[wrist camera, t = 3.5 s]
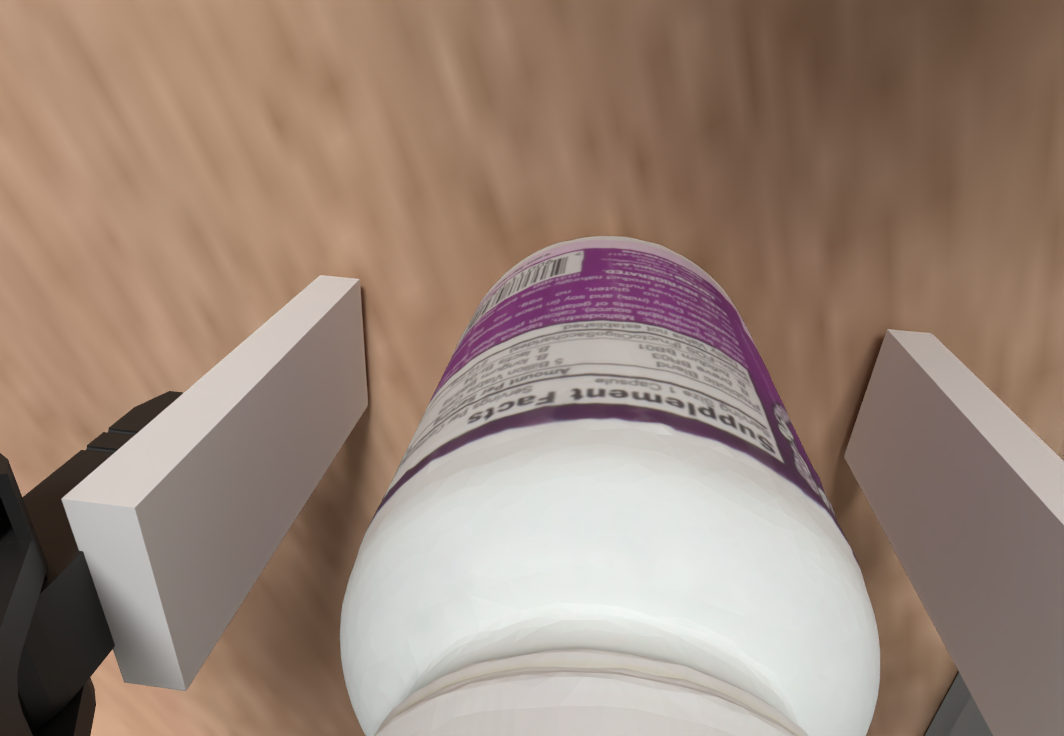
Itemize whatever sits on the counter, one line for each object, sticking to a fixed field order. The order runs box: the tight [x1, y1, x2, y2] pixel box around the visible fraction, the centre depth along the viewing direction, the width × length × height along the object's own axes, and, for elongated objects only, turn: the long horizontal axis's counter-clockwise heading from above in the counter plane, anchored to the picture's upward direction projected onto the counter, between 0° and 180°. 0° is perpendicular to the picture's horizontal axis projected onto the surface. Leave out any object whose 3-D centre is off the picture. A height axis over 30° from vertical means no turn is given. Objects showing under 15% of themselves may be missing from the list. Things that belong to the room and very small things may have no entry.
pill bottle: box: [340, 236, 880, 736], centre depth 8 cm, size 5×5×10 cm
